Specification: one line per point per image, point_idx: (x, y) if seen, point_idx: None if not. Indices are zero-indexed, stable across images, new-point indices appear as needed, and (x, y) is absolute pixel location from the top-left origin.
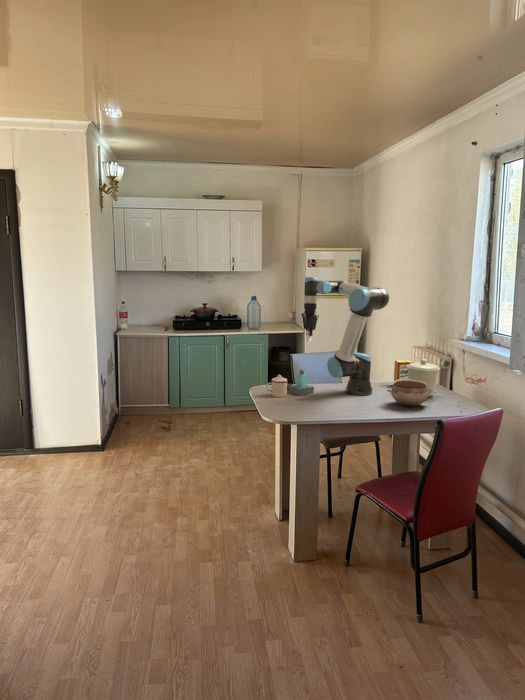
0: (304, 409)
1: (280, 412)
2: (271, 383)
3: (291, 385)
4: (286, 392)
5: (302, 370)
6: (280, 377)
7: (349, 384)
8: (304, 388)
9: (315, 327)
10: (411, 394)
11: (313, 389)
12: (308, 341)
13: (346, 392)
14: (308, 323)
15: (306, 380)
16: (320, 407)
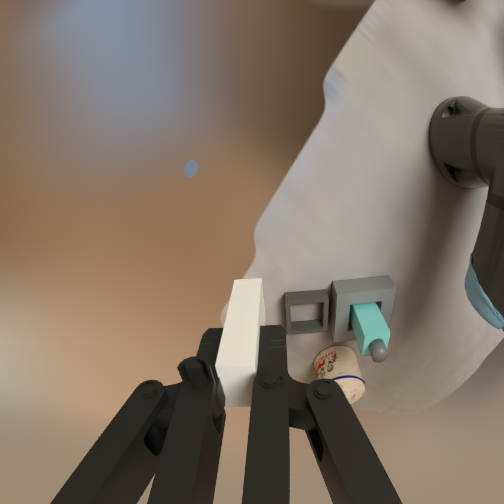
0: (442, 363)
1: (417, 399)
2: None
3: (337, 336)
4: (355, 357)
5: (386, 357)
6: (349, 400)
7: (472, 185)
8: (389, 324)
9: (354, 414)
10: None
11: (392, 283)
12: (265, 317)
13: (448, 179)
14: (208, 487)
15: (383, 318)
16: (461, 333)
